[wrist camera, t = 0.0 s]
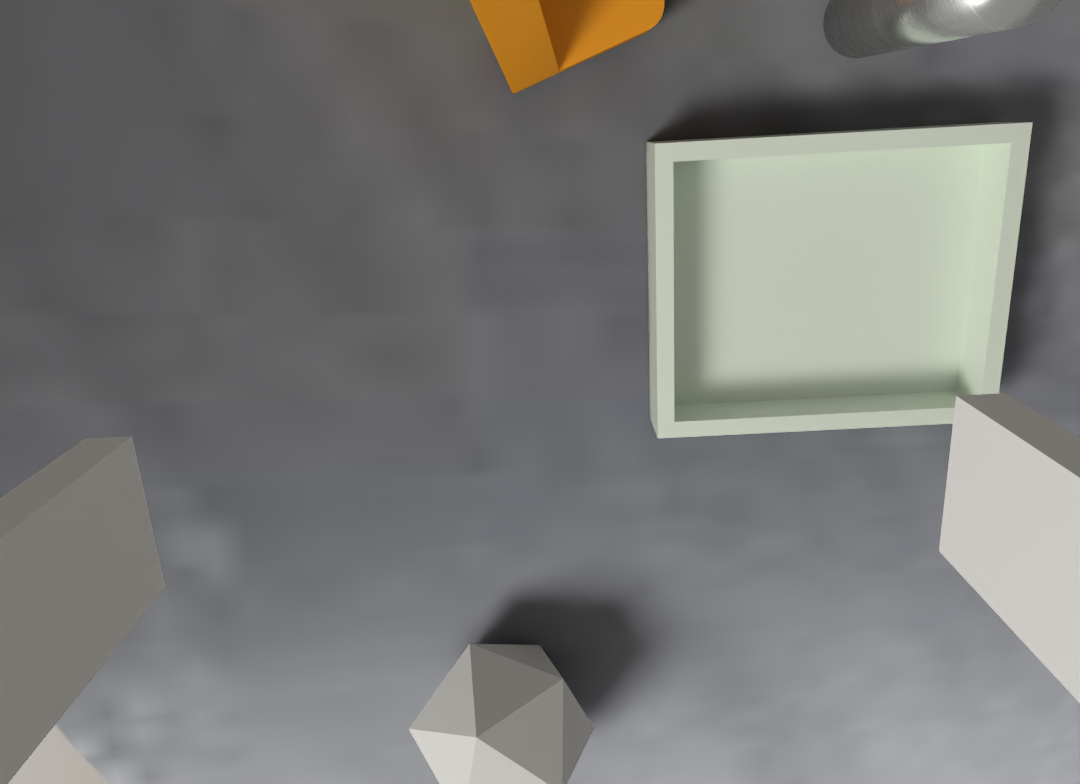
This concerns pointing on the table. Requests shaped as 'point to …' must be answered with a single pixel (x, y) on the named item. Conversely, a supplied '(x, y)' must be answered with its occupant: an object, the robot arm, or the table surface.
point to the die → (502, 720)
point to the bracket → (559, 32)
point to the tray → (830, 276)
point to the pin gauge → (921, 22)
